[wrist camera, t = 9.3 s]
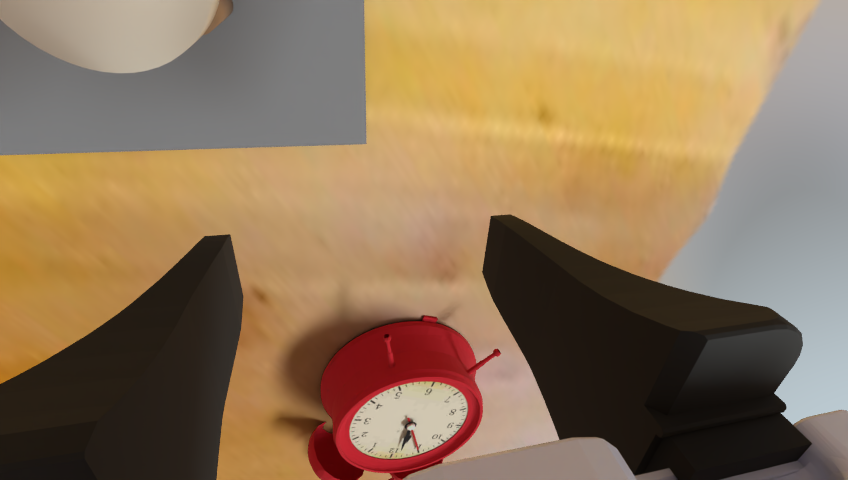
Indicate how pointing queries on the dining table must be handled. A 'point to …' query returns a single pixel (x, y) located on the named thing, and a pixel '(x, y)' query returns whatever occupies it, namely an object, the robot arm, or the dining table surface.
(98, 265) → the dining table surface
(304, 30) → the mat
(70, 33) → the stool
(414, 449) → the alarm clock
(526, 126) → the dining table surface
